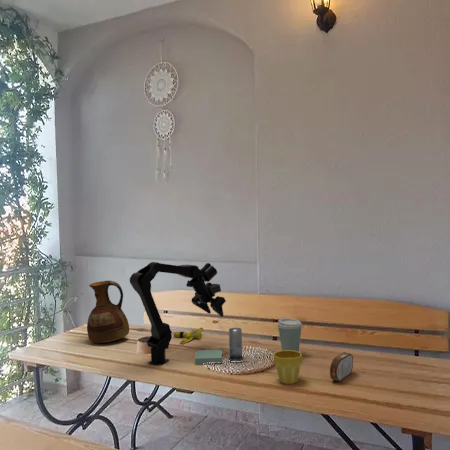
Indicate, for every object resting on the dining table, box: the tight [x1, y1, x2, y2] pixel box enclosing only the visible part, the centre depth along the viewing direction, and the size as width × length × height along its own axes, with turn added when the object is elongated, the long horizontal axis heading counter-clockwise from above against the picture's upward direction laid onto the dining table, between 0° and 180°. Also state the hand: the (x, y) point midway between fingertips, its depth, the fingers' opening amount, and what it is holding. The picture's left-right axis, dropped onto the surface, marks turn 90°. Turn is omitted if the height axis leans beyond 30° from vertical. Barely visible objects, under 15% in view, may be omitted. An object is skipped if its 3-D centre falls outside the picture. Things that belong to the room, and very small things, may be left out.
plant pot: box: [272, 349, 303, 385], centre depth 161 cm, size 10×10×10 cm
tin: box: [329, 351, 354, 382], centre depth 162 cm, size 15×3×8 cm, turn 141°
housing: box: [227, 327, 245, 361], centre depth 185 cm, size 6×6×13 cm
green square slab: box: [194, 349, 223, 366], centre depth 186 cm, size 11×11×2 cm
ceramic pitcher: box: [86, 280, 130, 344], centre depth 220 cm, size 20×20×30 cm
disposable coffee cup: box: [277, 317, 303, 352], centre depth 190 cm, size 11×11×15 cm
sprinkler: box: [173, 327, 204, 345], centre depth 220 cm, size 19×4×15 cm
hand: (216, 314), depth 205 cm, fingers open, 9 cm apart
